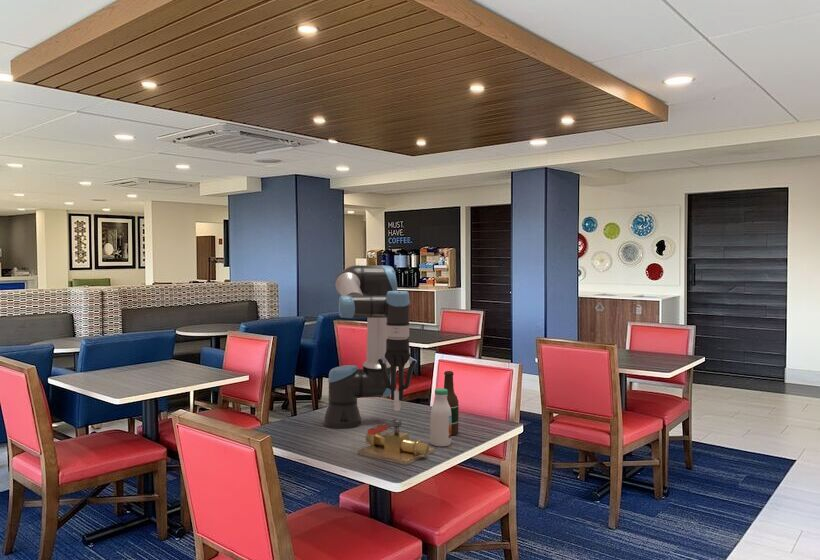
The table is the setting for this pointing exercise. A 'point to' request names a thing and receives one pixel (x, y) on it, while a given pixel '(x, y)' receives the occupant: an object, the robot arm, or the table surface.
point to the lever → (384, 427)
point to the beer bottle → (452, 400)
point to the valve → (395, 447)
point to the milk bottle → (440, 419)
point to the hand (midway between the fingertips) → (397, 409)
